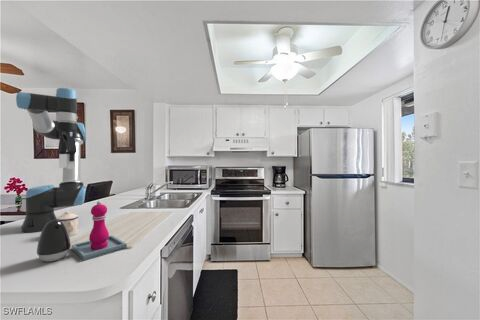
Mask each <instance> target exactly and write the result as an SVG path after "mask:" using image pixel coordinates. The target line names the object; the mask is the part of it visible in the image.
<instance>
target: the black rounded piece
mask: <svg viewBox="0 0 480 320" xmlns="http://www.w3.org/2000/svg"><path fill="white" fill-rule="evenodd" d="M39 235H40V236H39V238H38V243H37V248H36V254H37V255H38V258H39V259H40V260H41V261H43V262H55V261H59V260H61V259H63V258H64V257H65V256H67V255H68V253H69V250H70V248H72V243H71V239H70V236H69V234H68V231H67V229H66V227H65V225H64V224H63V222H61V221H60V220H52V221H49V222H48V223H47V224H46V225H45V227H44V228H43V230H42V231H40V234H39Z"/></svg>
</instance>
